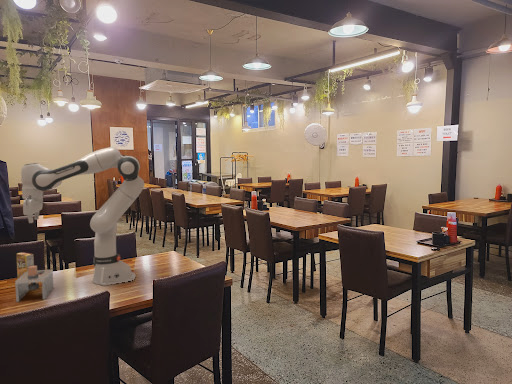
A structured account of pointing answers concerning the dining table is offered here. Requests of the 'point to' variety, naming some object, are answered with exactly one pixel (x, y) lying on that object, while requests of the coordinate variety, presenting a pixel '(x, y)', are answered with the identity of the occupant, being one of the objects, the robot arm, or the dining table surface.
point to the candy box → (24, 262)
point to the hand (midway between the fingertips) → (33, 221)
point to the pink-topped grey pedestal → (32, 274)
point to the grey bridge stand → (24, 281)
